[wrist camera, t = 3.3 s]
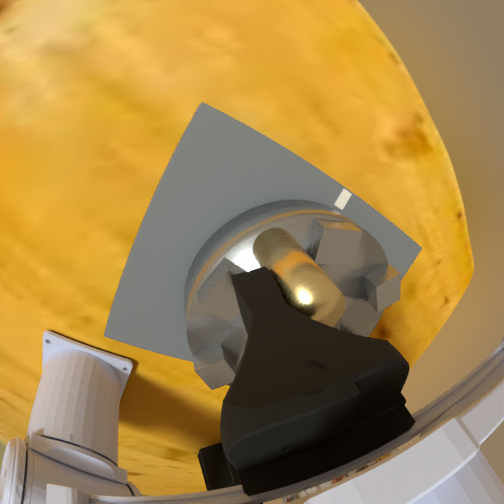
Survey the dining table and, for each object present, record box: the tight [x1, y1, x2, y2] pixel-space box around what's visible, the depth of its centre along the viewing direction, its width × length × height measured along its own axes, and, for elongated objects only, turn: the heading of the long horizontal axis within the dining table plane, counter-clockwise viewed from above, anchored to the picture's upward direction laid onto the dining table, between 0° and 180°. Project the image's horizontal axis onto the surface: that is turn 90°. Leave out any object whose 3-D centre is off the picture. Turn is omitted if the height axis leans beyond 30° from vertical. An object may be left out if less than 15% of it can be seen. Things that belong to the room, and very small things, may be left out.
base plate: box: [104, 102, 422, 362], centre depth 19 cm, size 16×20×2 cm
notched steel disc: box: [184, 199, 400, 390], centre depth 15 cm, size 13×13×8 cm
